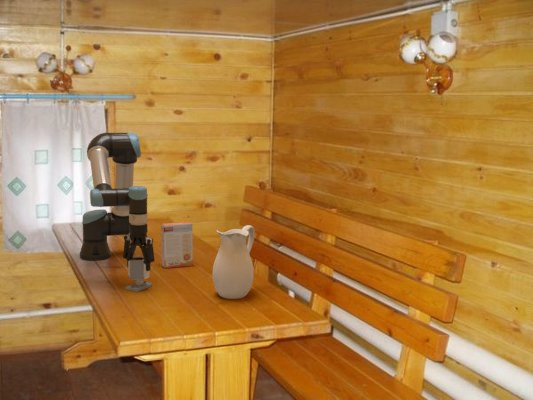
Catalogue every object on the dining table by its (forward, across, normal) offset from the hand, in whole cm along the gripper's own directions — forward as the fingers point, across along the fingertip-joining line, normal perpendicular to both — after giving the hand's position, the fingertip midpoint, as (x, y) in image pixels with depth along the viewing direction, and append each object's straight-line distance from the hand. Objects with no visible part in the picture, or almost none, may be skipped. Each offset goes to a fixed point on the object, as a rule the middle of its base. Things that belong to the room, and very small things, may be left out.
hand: (138, 276), depth 269 cm
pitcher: (+5, +39, +16) cm, 43 cm away
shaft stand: (+5, 0, 0) cm, 5 cm away
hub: (0, 0, 0) cm, 0 cm away
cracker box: (+5, -7, +37) cm, 38 cm away
